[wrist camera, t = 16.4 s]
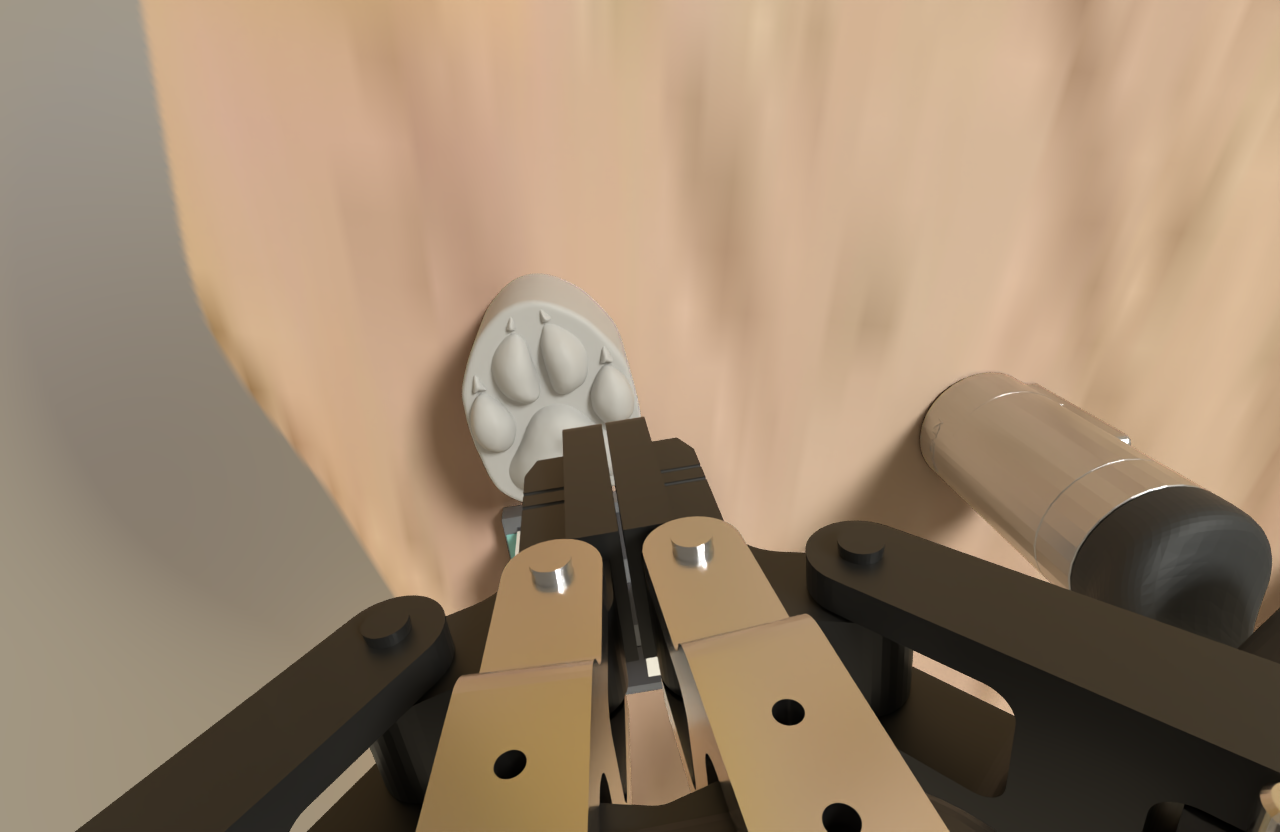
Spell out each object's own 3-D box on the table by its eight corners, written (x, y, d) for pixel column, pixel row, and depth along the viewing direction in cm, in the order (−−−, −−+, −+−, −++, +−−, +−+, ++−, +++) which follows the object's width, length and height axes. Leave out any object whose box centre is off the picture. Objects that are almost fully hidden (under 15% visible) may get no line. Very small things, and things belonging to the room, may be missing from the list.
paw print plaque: (505, 462, 50) (495, 527, 43) (449, 292, 45) (426, 330, 37) (643, 430, 51) (658, 489, 43) (604, 257, 45) (613, 287, 37)
